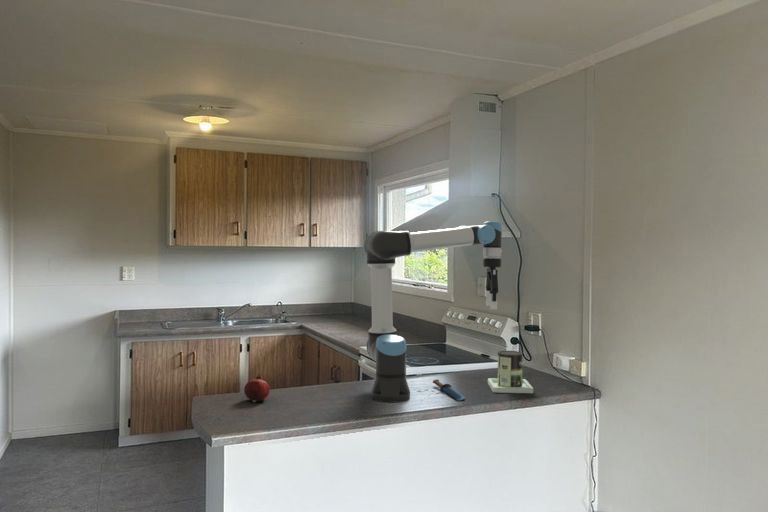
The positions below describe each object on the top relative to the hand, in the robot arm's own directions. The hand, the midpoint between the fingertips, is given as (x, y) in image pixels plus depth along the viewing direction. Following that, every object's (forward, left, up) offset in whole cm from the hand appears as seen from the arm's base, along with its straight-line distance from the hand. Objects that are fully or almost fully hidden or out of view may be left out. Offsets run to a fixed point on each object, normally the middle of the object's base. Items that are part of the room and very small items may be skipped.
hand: (491, 307), depth 247 cm
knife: (-19, -18, -33) cm, 42 cm away
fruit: (-92, -35, -33) cm, 104 cm away
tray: (+7, -7, -33) cm, 34 cm away
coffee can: (+7, -7, -32) cm, 34 cm away
